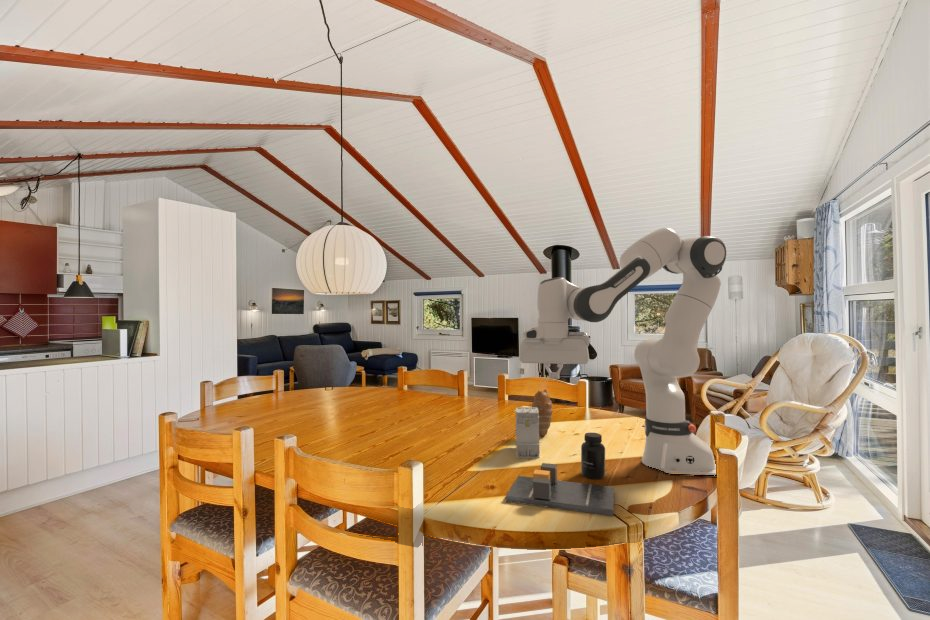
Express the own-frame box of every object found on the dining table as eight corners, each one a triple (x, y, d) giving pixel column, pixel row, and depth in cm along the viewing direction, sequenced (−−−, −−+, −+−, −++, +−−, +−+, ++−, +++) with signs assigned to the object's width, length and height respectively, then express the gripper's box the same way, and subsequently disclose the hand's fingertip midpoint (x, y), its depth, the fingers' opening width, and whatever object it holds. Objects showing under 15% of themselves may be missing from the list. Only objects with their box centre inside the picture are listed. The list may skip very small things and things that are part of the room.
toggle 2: (551, 494, 111) (550, 479, 111) (549, 499, 109) (548, 483, 109) (535, 492, 113) (535, 477, 113) (533, 497, 110) (532, 481, 110)
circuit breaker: (536, 444, 159) (536, 403, 159) (539, 458, 144) (538, 412, 144) (516, 444, 159) (515, 403, 159) (516, 457, 145) (516, 412, 145)
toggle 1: (557, 478, 122) (556, 464, 122) (555, 482, 119) (555, 468, 119) (542, 477, 123) (542, 462, 123) (540, 481, 120) (540, 466, 120)
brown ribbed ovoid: (544, 440, 163) (543, 392, 163) (527, 436, 169) (526, 390, 169) (557, 435, 170) (556, 389, 170) (540, 431, 175) (539, 386, 175)
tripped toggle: (550, 486, 117) (550, 471, 117) (548, 490, 114) (548, 475, 114) (535, 484, 118) (535, 469, 118) (533, 488, 115) (533, 473, 115)
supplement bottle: (582, 479, 126) (582, 437, 126) (579, 470, 133) (579, 431, 133) (607, 480, 125) (606, 438, 125) (603, 471, 132) (602, 431, 132)
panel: (614, 492, 117) (614, 486, 117) (613, 516, 103) (613, 508, 103) (518, 481, 125) (518, 475, 125) (506, 501, 112) (506, 494, 112)
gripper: (590, 331, 129) (591, 377, 129) (521, 331, 136) (522, 376, 136) (588, 332, 123) (589, 381, 123) (517, 332, 130) (518, 379, 130)
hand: (554, 378), depth 130 cm, fingers closed
